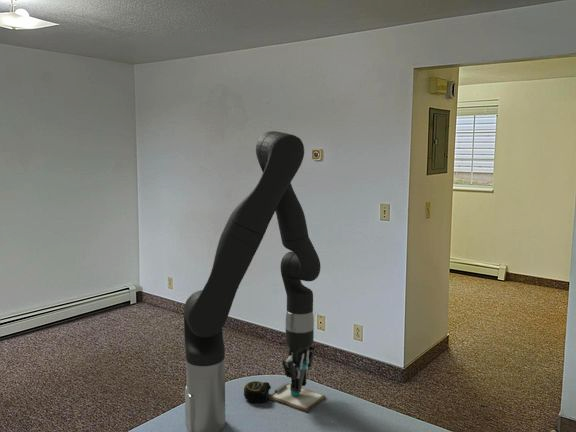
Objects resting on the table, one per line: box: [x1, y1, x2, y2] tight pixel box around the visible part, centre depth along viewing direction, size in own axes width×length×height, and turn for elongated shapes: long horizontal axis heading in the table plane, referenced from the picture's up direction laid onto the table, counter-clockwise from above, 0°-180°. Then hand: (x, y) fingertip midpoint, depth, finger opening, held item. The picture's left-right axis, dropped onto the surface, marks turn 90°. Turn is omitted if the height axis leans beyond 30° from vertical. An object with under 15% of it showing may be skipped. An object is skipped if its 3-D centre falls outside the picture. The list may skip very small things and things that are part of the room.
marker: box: [290, 362, 306, 396], centre depth 134 cm, size 3×3×9 cm
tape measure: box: [243, 380, 272, 403], centre depth 135 cm, size 7×7×4 cm
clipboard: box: [267, 383, 327, 414], centre depth 135 cm, size 12×10×2 cm
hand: (298, 387), depth 134 cm, fingers closed on marker, 3 cm apart
